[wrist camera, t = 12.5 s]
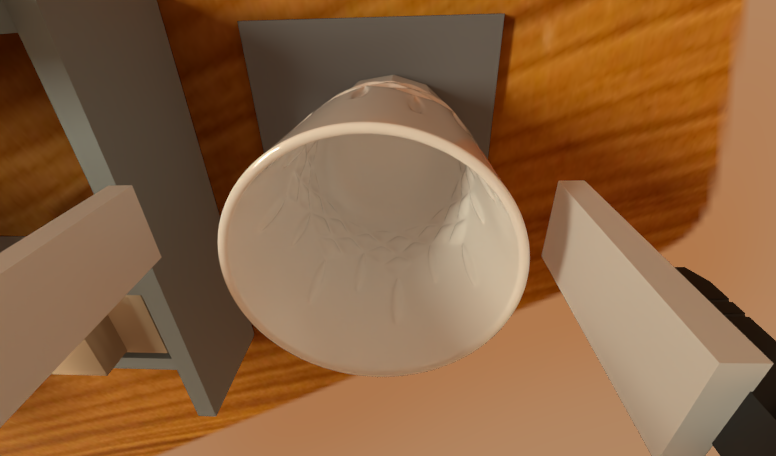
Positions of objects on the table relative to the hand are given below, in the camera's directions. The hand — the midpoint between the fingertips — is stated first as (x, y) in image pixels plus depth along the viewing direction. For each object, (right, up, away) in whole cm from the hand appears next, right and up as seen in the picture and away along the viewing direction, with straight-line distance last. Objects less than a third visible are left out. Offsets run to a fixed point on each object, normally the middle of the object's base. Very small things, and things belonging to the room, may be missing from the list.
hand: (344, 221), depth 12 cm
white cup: (+1, +4, +6) cm, 7 cm away
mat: (+1, +4, +7) cm, 8 cm away
